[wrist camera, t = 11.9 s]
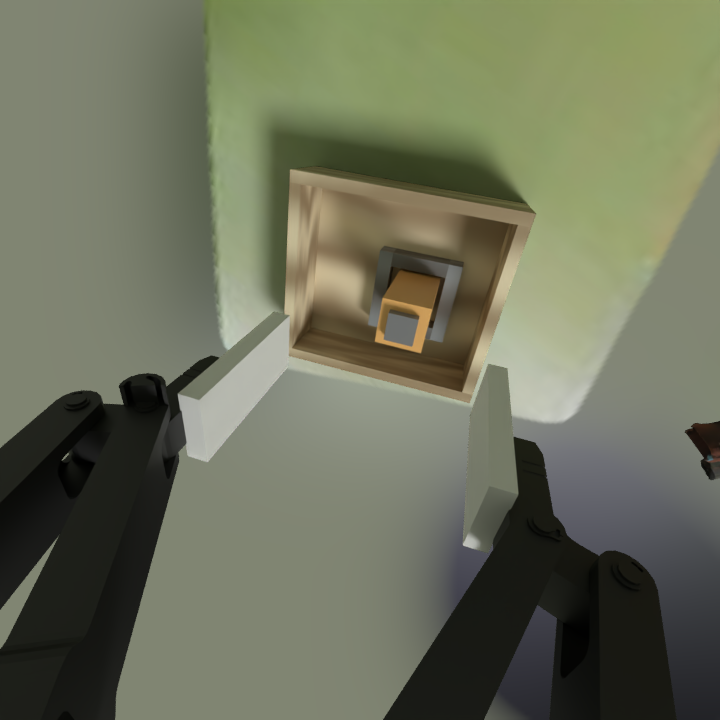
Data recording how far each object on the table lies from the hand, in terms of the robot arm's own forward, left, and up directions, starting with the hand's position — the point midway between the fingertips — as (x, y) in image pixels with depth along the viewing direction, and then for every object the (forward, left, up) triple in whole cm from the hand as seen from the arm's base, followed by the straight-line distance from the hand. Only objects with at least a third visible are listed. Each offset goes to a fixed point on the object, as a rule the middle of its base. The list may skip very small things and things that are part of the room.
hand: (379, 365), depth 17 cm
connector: (+4, -1, -24) cm, 25 cm away
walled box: (+4, -3, -25) cm, 25 cm away
